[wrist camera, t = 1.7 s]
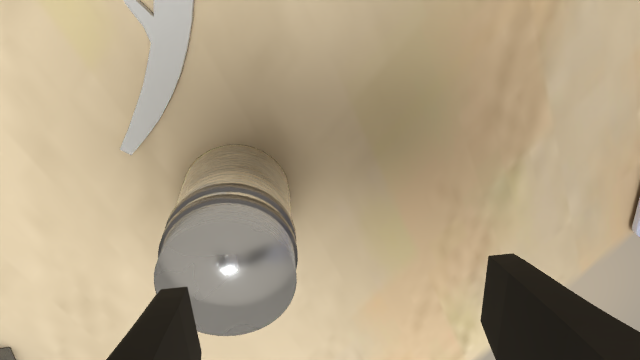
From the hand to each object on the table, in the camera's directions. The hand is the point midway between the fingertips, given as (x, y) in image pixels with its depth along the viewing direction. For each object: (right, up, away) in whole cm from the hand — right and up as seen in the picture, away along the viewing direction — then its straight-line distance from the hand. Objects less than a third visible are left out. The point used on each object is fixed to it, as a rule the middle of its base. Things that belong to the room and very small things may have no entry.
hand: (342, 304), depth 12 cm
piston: (-4, +2, +9) cm, 10 cm away
